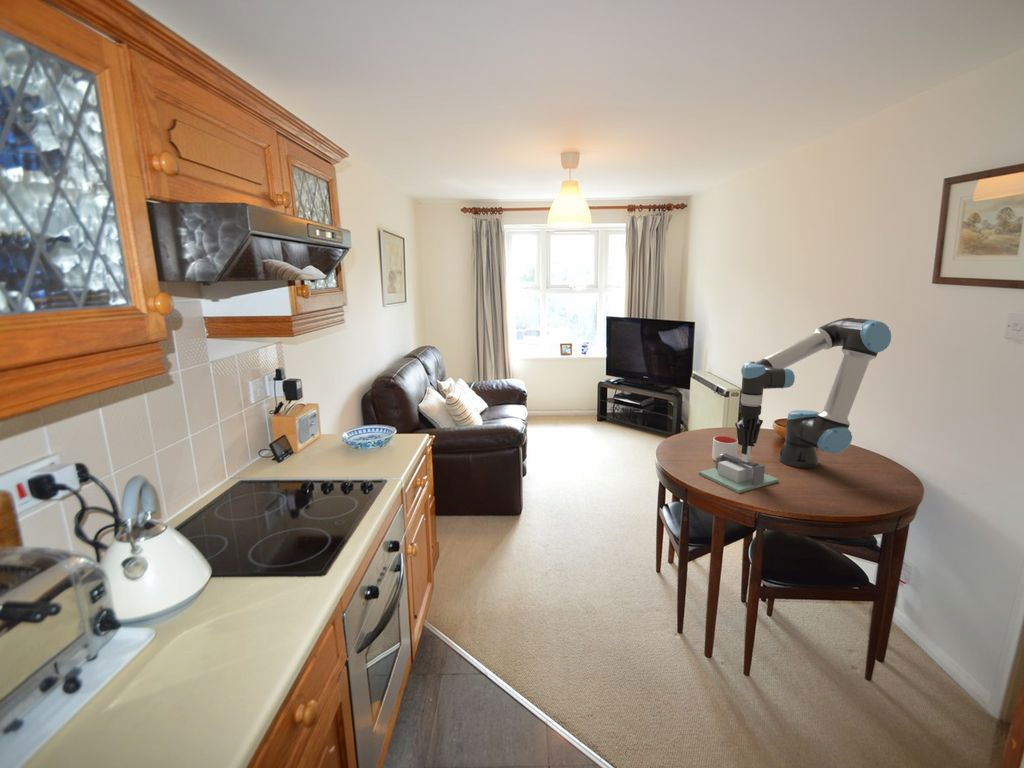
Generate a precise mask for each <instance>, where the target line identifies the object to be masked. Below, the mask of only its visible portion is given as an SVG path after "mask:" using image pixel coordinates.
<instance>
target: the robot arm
mask: <svg viewBox="0 0 1024 768" xmlns="http://www.w3.org/2000/svg"><path fill="white" fill-rule="evenodd" d="M891 342H892V332H891V330H890V328H889V326H888V325H887V323H884V322H883V321H879V320H875V319H865V318H864V319H863V318H855V317H844V318H840V319H837V320H833V321H830V322H829V323H826V324H823V325H822V326H820V327H818V328H816V329H814V330H813V333H812V334H809V335H807V336H805V337H803V338H802V339H799V340H797V341H795V342H793V343H791V344H789V345H787V346H786V347H783V348H782V349H779V350H776V351H775V352H773V353H772V354H770V355H768V356H767V355H766V357H764V358H761V359H759V360H757V361H747V362H745V363H744V364H743V365H742V366H741V371H740V372H741V375H742V376H741V377H742V379H741V381H742V382H741V392H740V404H739V413H740V415H741V416H740V418H739V419H740V420H739V422H735V423H734V424H735V427H736V434H737V436H736V437H737V440H738V445H739V446H741V458H742V460H741V461H744V462H747V463H748V462H750V461H751V454H752V449H753V448H752V447H755V444H757V442H758V437H759V434H760V430H761V428H762V425H763V422H764V419H760V417H759V416H760V415H762V408H763V407H762V405H763V397H764V396H763V395H764V394H763V393H764V390H765V389H766V390H767V389H770V390H771V389H787V388H790V387H793V385H794V383H795V379H796V377H795V373H794V371H793V370H791V369H790V368H788V367H790V366H792V365H794V364H796V363H798V362H800V361H801V360H803V359H807V357H810V356H812V355H814V354H817V353H818V352H820V351H822V350H826V351H827V350H830V349H832V348H834V347H841V352H842V354H843V357H842V360H841V363H840V365H839V368H838V370H837V373H836V376H835V378H834V381H833V384H832V386H831V389H830V391H829V394H828V396H827V400H826V402H825V404H824V408H823V409H822V411H821V412H818V411H815V410H808V409H807V410H806V409H805V410H803V409H802V410H797V409H796V410H792V411H789V412H788V414H787V418H786V424H785V425H786V427H785V436H784V437H785V438H784V443H783V446H782V447H781V449H780V451H779V453H778V461H779V462H781V463H782V464H784V465H787V466H791V467H794V468H800V469H801V468H802V469H813V468H817V467H818V466H819V455H818V452H817V449H819V451H822V452H826V453H828V454H839V453H841V452H843V451H845V450H846V449H848V448H849V446H850V445H851V443H852V440H853V434H852V431H850V429H849V428H850V426H851V423H850V421H849V420H848V419H849V415H850V412H851V411H852V407H853V405H854V402H855V399H856V397H857V394H858V391H859V389H860V386H861V384H862V381H863V379H864V376H865V373H866V371H867V368H868V366H869V363H870V361H871V360H874V359H876V358H877V356H878V354H879V353H881V352H883V351H885V350H886V349H887V348H888V347H889V346H890V343H891ZM816 448H817V449H816Z"/></svg>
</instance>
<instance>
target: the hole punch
mask: <svg viewBox="0 0 1024 768" xmlns="http://www.w3.org/2000/svg"><path fill="white" fill-rule="evenodd" d="M737 458H741V459H742V457H740V456H738V457H737ZM765 470H766V465H765V464H762V463H761V464H759V465H756V466H753V467H751V466H748V465H745V464H741V463H738V462H735V461H732V460H728V459H725V458H719V457H716V461H715V467H712V468H709V469H704V470H701V471H699V472H698V475H699V476H701V477H704V478H706V479H707V480H710V481H712V482H714V483H717V484H719V485H720V486H722V487H725V488H727V489H729V490H731V491H733V492H735V493H737V494H740V493H744V492H747V491H751V490H755V489H758V488H761V487H765V486H768V485H771V484H775V483H778V482H779V478H777V477H774V476H772V475H769V474H768V473H765Z"/></svg>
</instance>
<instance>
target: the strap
mask: <svg viewBox="0 0 1024 768" xmlns="http://www.w3.org/2000/svg"><path fill="white" fill-rule="evenodd" d="M718 457H719V458H725V459H728V460H732V461H735V462H738V463H741V464H745V465H748V466H751V467H753V466H756V465H760V464H759V463H758V462H754V461H751V460H750V462H748V463H747V462H744V461H741V460H742V459H741V458H742V457H740V458H738V457H734V456H731V455H728V454H727V453H726V454H722V455H718Z"/></svg>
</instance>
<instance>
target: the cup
mask: <svg viewBox="0 0 1024 768" xmlns="http://www.w3.org/2000/svg"><path fill="white" fill-rule="evenodd" d="M738 445H739V444H738V438H735V437H731V436H728V435H718V436H714V437H713V439H712V451H711V457H712V460H713V461H715V462H716V457H718V455H722V454H726V453H727V454H728V455H731V456H734V457H737V456H738ZM737 458H738V457H737Z"/></svg>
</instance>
